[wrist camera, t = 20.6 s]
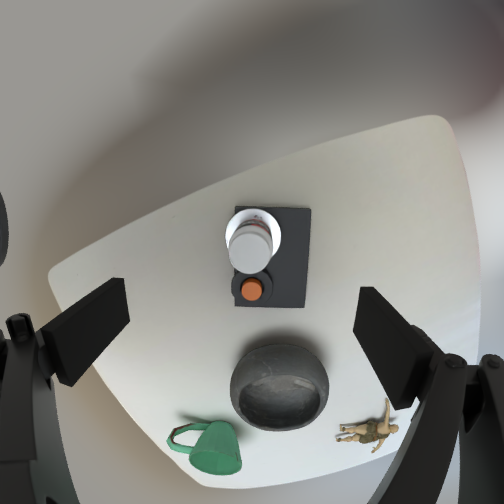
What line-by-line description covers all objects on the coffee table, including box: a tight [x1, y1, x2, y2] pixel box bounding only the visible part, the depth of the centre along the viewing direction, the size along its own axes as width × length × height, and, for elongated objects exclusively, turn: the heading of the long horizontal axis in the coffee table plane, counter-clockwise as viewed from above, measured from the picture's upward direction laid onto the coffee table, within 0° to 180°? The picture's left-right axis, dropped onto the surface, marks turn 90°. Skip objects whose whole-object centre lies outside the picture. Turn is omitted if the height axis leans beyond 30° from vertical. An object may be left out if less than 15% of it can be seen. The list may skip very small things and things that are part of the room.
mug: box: [166, 421, 242, 475], centre depth 43 cm, size 15×10×10 cm
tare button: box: [242, 278, 262, 301], centre depth 36 cm, size 3×3×2 cm
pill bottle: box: [228, 219, 273, 274], centre depth 30 cm, size 5×5×8 cm
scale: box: [231, 206, 311, 308], centre depth 37 cm, size 14×10×4 cm
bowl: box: [230, 344, 329, 431], centre depth 38 cm, size 15×15×10 cm
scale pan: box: [225, 208, 281, 256], centre depth 35 cm, size 7×7×1 cm
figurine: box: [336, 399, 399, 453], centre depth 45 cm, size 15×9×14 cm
